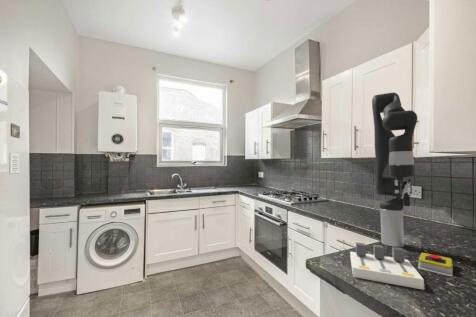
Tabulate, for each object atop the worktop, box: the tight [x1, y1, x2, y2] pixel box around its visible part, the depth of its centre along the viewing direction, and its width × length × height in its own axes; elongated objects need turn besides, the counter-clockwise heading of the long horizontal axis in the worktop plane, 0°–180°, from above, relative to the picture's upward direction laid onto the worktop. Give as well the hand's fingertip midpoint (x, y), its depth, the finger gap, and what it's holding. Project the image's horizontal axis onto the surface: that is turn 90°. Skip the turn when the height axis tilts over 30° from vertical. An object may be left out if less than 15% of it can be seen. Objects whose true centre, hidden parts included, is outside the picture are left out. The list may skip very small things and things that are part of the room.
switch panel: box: [349, 251, 425, 291], centre depth 77 cm, size 17×19×3 cm
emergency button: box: [417, 252, 454, 277], centre depth 82 cm, size 9×4×15 cm
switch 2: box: [372, 244, 385, 259], centre depth 82 cm, size 3×3×4 cm
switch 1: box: [355, 242, 367, 256], centre depth 84 cm, size 3×3×4 cm
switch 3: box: [391, 246, 405, 262], centre depth 79 cm, size 3×3×4 cm
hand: (403, 207), depth 81 cm, fingers open, 8 cm apart
